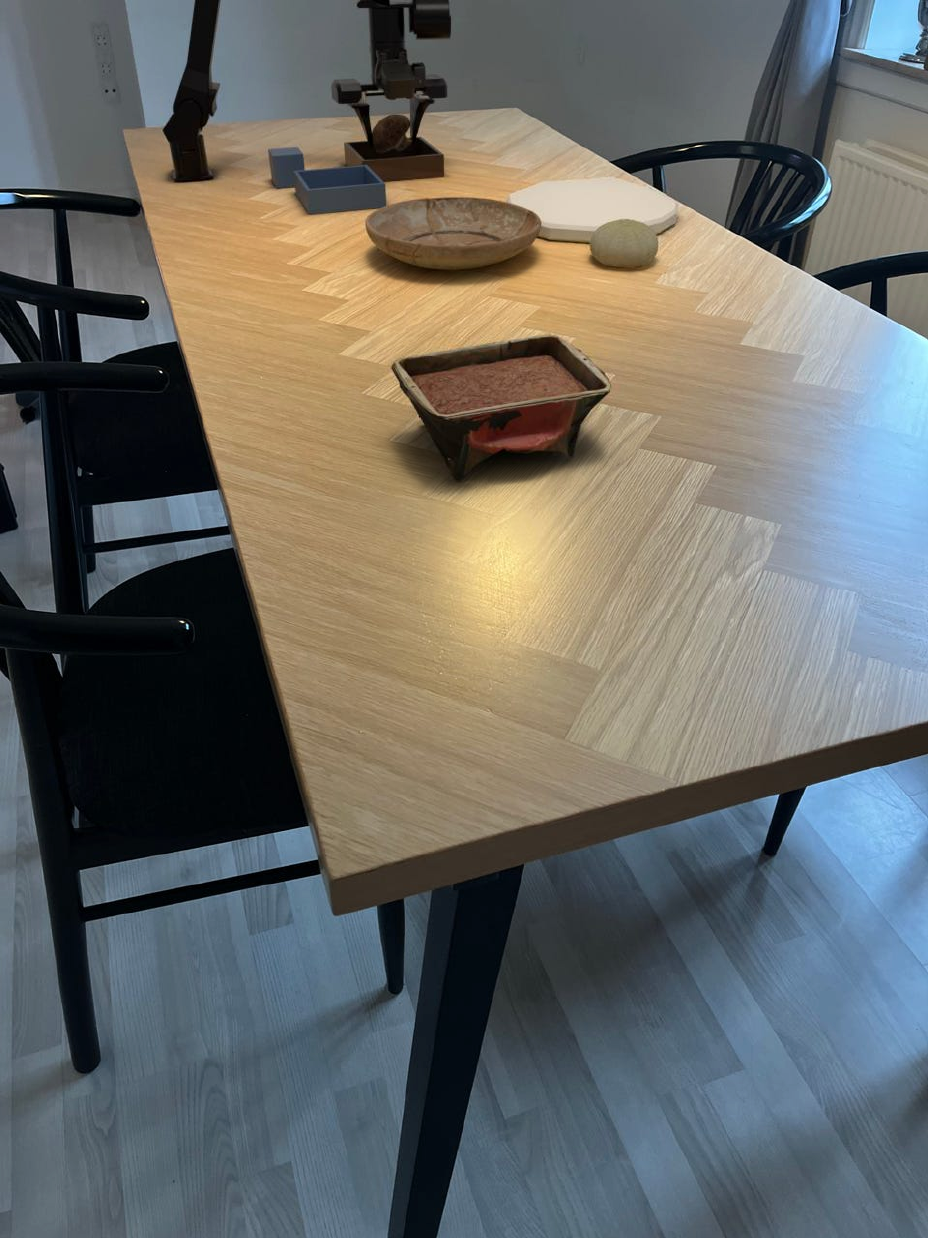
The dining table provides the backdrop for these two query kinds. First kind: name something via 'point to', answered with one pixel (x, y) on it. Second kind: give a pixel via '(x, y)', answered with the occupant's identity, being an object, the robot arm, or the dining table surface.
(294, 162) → the blue block
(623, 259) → the sea urchin shell
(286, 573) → the dining table surface
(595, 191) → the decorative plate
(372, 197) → the blue bin
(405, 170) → the walnut bin
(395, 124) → the mushroom
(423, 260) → the ceramic bowl
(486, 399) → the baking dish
